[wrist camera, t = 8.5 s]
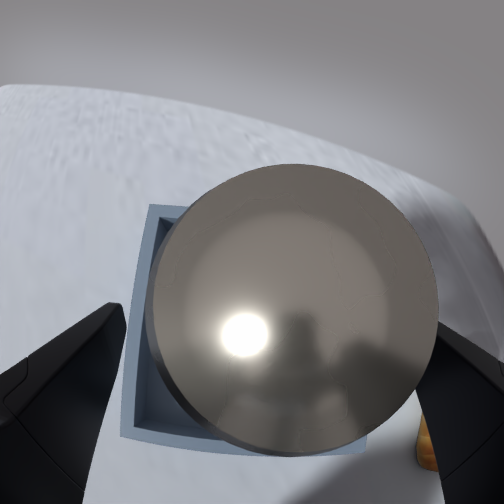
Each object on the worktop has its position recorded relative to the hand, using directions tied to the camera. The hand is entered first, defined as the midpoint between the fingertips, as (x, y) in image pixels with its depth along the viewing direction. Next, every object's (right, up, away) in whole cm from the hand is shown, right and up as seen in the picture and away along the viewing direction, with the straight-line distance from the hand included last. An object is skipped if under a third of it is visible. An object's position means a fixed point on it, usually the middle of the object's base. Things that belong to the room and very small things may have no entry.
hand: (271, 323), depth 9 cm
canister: (-1, -3, +10) cm, 10 cm away
